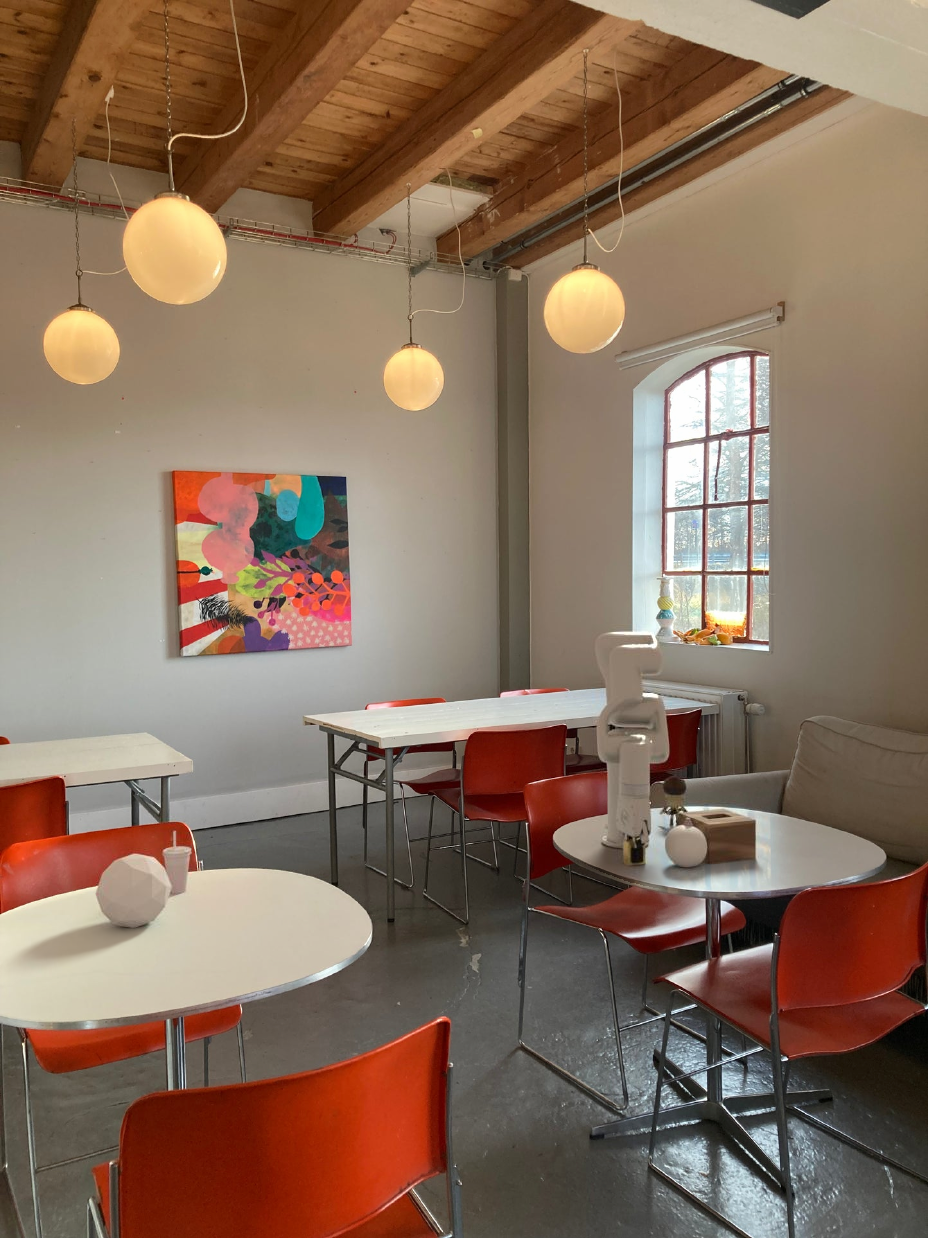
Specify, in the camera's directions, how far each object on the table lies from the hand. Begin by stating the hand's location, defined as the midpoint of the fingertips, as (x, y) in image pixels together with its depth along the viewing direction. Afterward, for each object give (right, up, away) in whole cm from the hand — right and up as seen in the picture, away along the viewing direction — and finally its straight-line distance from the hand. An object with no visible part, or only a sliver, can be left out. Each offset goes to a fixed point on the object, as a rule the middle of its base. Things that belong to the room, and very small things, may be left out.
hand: (634, 860), depth 231 cm
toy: (+19, 0, +40) cm, 45 cm away
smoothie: (-110, -2, -20) cm, 111 cm away
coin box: (+23, -1, +8) cm, 25 cm away
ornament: (+13, -1, -2) cm, 13 cm away
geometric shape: (-112, -2, -41) cm, 119 cm away
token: (0, -1, 0) cm, 1 cm away
